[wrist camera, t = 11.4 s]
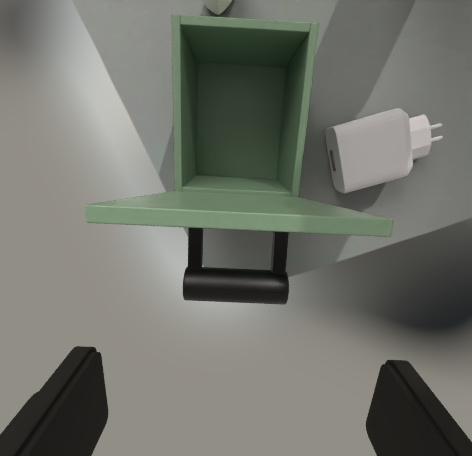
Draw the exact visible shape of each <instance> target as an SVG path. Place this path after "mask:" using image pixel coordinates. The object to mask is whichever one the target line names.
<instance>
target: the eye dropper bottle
mask: <svg viewBox="0 0 472 456" xmlns="http://www.w3.org/2000/svg"><path fill="white" fill-rule="evenodd" d="M231 2H232V0H204V3H205V6H206V7H207V8H208V9H209V10H210V11H212V12H213V13H215V14H217V15H219V14H221V13H222V12H223V11H225V10H226V9H227V7H228V6H229V5H230V4H231Z"/></svg>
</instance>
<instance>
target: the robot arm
mask: <svg viewBox="0 0 472 456" xmlns="http://www.w3.org/2000/svg"><path fill="white" fill-rule="evenodd" d="M107 419H108V405H107V397H106V389H105V382H104V374H103V366H102V358H101V353H100V352H97V351H96V348H95V347H79V346H77V347H74V349H73V350H72V351H71V352H70V353H69V355H68V356H67V357H66V358H65V359H64V361H63V362H62V363H61V365H60V366H59V367H58V368H57V369H56V371H55V372H54V373H53V374H52V376H51V377H50V378H49V379H48V381H47V382H46V383H45V384H44V386H43V387H42V388H41V389H40V391H39V392H37V393H35V394H34V395H33V396H32V397H31V398H30V399H29V400H28V401H27V403H26V404H25V405H24V406H23V407H22V409H21V410H20V411H19V412H18V414H17V415H16V416H15V417H14V418H13V420H12V421H11V422H10V423H9V425H8V426H7V427H6V428H5V430H4V431H3V432H2V433H1V435H0V456H91V455H92V453H93V451H94V448H95V446H96V444H97V442H98V440H99V438H100V436H101V434H102V431H103V429H104V427H105V425H106V422H107ZM366 430H367V434H368V437H369V439H370V441H371V443H372V445H373V447H374V450H375V452H376V454H377V456H472V442H471V441H470V439H468V437H467V436H466V435H465V433H464V432H463V430H462V429H461V428H460V427H459V425H458V424H457V423H456V421H455V420H454V419H453V418H452V416H451V415H450V414H449V413H448V411H447V410H446V409H445V407H444V406H443V405H442V404H441V402H440V401H439V400H438V398H437V397H436V396H435V395H434V393H433V392H432V391H431V390H430V388H429V387H428V386H427V384H426V383H425V382H424V381H423V379H422V378H421V377H420V376H419V374H418V373H417V372H416V371H415V369H414V368H413V367H412V365H411V364H410V363H409V362H407V361H402V360H387V362H386V363H385V364H383V365H382V366H381V368H380V372H379V376H378V379H377V383H376V387H375V391H374V394H373V398H372V402H371V406H370V409H369V413H368V417H367V420H366Z"/></svg>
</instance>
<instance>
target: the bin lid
mask: <svg viewBox="0 0 472 456" xmlns="http://www.w3.org/2000/svg"><path fill="white" fill-rule="evenodd" d="M85 210H86V222H87V223H104V224H126V225H146V226H148V225H149V226H168V227H189V236H188V267H187V268H186V270H185V273H184V280H183V297H184V300H193V301H194V300H195V301H217V302H241V303H264V304H286V303H287V300H288V293H289V281H288V275H287V273H286V271H285V270H286V258H287V246H288V234H289V232H296V233H317V234H339V235H360V236H381V237H391V234H392V227H393V220H392V219H389V218H385V217H380V216H376V215H372V214H368V213H363V212H359V211H355V210H351V209H347V208H342V207H338V206H334V205H330V204H325V203H321V202H317V201H313V200H309V199H304V198H300V197H284V196H264V195H243V194H223V193H202V192H182V191H172V192H165V193H159V194H152V195H146V196H140V197H133V198H127V199H120V200H114V201H107V202H102V203H95V204H88V205H86V206H85ZM203 228H210V229H232V230H253V231H273V244H272V258H271V270H252V269H230V268H207V267H202V256H203Z"/></svg>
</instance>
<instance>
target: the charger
mask: <svg viewBox="0 0 472 456" xmlns="http://www.w3.org/2000/svg"><path fill="white" fill-rule="evenodd" d="M441 126H442V124H441V123H439V124H435V125H432V126H430V124H429V122H428V119H427V117H426V116H425V115H420V116H417V117H413V118H410V119H409V116H408V114H407V113H405V112H404V111H403V110H401V109H400V108H398V109H393V110H389V111H385V112H381V113H378V114H374V115H371V116H367V117H364V118H361V119H357V120H354V121H350V122H347V123H343V124H340V125H336V126H333V127H329V128H326V129H325V139H326V145H327V151H328V156H329V162H330V168H331V174H332V180H333V184H334V187H335V189H336V190H337V191H339V192H341V193H343V194H344V193H348V192H351V191H355V190H359V189H363V188H366V187H370V186H374V185H377V184H381V183H385V182H389V181H392V180H396V179H400V178H403V177H406V176H407V175H408V173H409V172H410V170H411V169H412V167H413V160H414V159H417V158H421V157H425V156H427V155H428V154H429V151H430V148H431V142H434V141H438V140H441V139H442V138H443V137H442V136H438V137H435V138H431V130H432V129H435V128H439V127H441Z"/></svg>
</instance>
